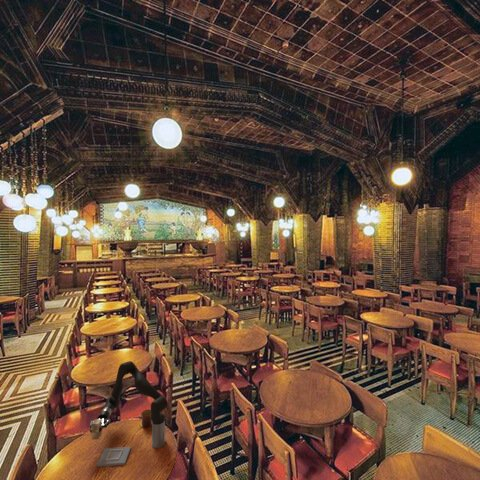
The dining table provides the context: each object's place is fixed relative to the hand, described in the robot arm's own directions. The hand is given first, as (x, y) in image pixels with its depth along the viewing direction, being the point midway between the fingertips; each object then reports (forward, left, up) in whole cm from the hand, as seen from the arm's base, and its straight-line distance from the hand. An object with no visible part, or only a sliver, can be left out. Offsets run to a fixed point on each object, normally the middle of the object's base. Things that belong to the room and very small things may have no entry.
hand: (95, 431), depth 190 cm
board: (-14, +2, -18) cm, 23 cm away
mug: (-30, -30, -18) cm, 46 cm away
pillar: (0, -3, -6) cm, 7 cm away
